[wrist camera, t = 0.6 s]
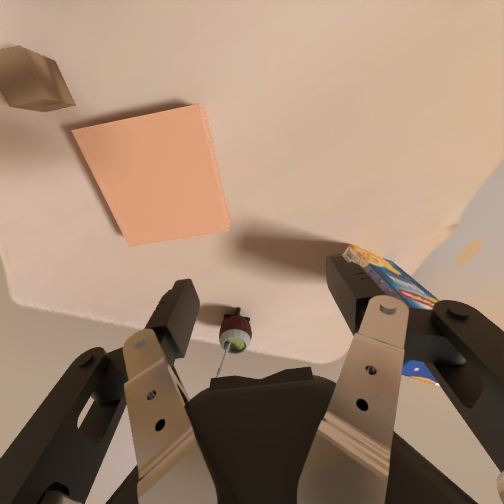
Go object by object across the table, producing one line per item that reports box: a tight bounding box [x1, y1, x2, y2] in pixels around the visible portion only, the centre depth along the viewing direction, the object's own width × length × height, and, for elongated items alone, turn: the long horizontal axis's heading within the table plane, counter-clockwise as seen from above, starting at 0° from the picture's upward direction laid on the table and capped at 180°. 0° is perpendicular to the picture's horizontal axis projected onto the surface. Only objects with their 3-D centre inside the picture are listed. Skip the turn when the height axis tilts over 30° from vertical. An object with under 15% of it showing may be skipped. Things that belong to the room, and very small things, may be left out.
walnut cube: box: [0, 46, 75, 112], centre depth 27 cm, size 5×5×5 cm
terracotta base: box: [71, 104, 231, 247], centre depth 33 cm, size 18×18×4 cm
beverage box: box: [342, 244, 440, 386], centre depth 34 cm, size 7×11×22 cm, turn 67°
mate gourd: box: [216, 308, 252, 378], centre depth 43 cm, size 8×8×15 cm
